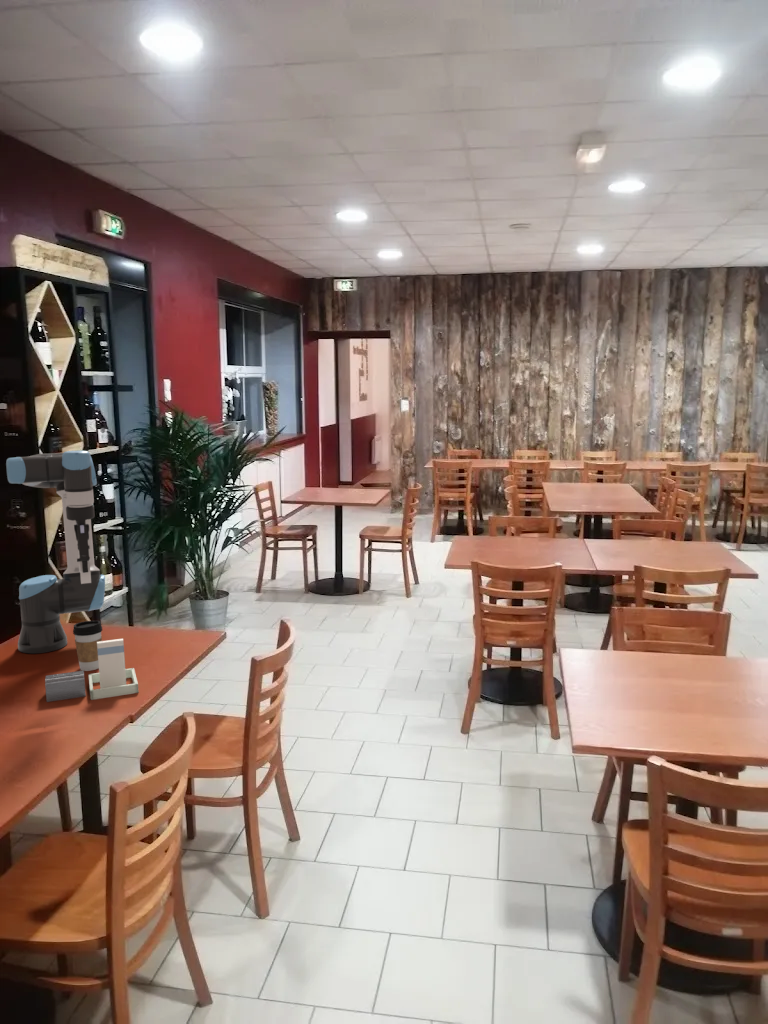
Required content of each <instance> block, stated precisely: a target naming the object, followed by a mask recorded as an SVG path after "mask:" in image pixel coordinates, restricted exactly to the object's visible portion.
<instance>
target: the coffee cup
mask: <svg viewBox="0 0 768 1024" xmlns="http://www.w3.org/2000/svg"><path fill="white" fill-rule="evenodd" d="M102 631H103V626H102V623H101V620H84V621H80V622H76V623H75V624H73V630H72V634H73V635H74V644H75V648H76V655H77V659H78V666H79V670H80V671H83V670H84V672H89V671H94V670H99V664H98V650H97V642H99V641H103V637H102Z"/></svg>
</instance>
